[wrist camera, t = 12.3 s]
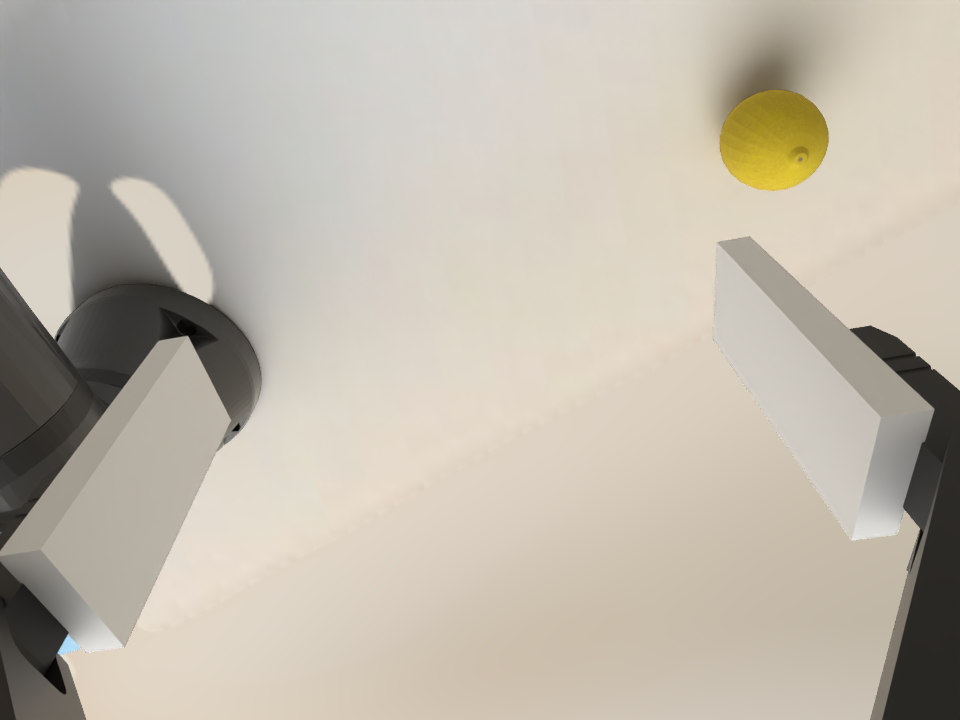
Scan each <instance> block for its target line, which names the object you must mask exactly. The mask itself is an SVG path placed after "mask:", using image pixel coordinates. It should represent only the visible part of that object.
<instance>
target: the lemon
mask: <svg viewBox="0 0 960 720" xmlns="http://www.w3.org/2000/svg"><path fill="white" fill-rule="evenodd" d="M828 143H829V141H828V128H827V125H826V122H825V119H824V117H823V115H822V114H821V112H820V111H819V110H818V108H817V107H816V106H815V105H814V104H813V103H812V102H811V101H809V100H808V99H806V98H805V97H804V96H802V95H800V94H797V93H794V92H791V91H787V90H767V91H763V92H760V93H756V94H754V95H752V96H750V97H748V98H746V99H744V100H743V101H742V102H741V103H740V104H738V105H737V106H736V107H735V108H734V109H733V110H732V112H731V113H730V114H729V115H728V117H727V119H726V121H725V123H724V125H723V127H722V131H721V135H720V152H721V156H722V160H723V162H724V164H725V165H726V167H727V169H728V170H729V172H730V173H731V174H732V175H733V176H734V177H736V178H737V179H738V180H739V181H740V182H742V183H744V184H746V185H748V186H751V187H753V188H756V189H760V190H769V191H775V190H783V189H788V188H790V187H793V186H796V185H798V184H799V183H801V182H803V181H804V180H806V179H807V178H808V177H809V176H811V175H812V174H813V173H814V172H815V171H816V169H817V168H818V167H819V165H820V164H821V162H822V160H823V158H824V156H825V154H826V151H827V147H828Z"/></svg>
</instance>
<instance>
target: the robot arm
mask: <svg viewBox="0 0 960 720" xmlns="http://www.w3.org/2000/svg"><path fill="white" fill-rule="evenodd" d="M713 340H714V342H715V343H716V344H717V346H718V348H719V349H720V350H721V352H722V353H723V355H724V356H725V358H726V359H727V361H728V362H729V364H730V365H731V367H732V368H733V369H734V371H735V372H736V374H737V375H738V377H739V378H740V380H741V381H742V383H743V384H744V386H745V387H746V388H747V390H748V391H749V393H750V394H751V395H752V397H753V398H754V400H755V402H756V403H757V404H758V406H759V407H760V409H761V410H762V411H763V413H764V414H765V416H766V417H767V419H768V420H769V422H770V423H771V425H772V426H773V428H774V429H775V430H776V432H777V433H778V435H779V436H780V438H781V439H782V440H783V442H784V444H785V445H786V446H787V448H788V449H789V451H790V452H791V454H792V455H793V457H794V458H795V460H796V461H797V463H798V464H799V465H800V467H801V468H802V470H803V471H804V473H805V474H806V476H807V477H808V478H809V480H810V481H811V483H812V484H813V486H814V487H815V489H816V490H817V492H818V493H819V495H820V496H821V497H822V499H823V500H824V502H825V503H826V505H827V506H828V508H829V509H830V511H831V512H832V513H833V515H834V516H835V518H836V519H837V521H838V522H839V524H840V525H841V526H842V528H843V529H844V531H845V532H846V534H847V535H848V537H849V538H850V540H851V541H855V540H862V539H868V538H875V537H882V536H889V535H896V534H897V533H898V530H899V526H900V523H901V520H902V517H903V513H904V510H905V511H906V512H907V513H908V514H909V515H910V517H911V518H912V519H913V520H914V521H915V523H916V524H917V525H918V526H919V528H920V531H919V534H918V537H917V540H916V543H915V546H914V549H913V552H912V555H911V558H910V561H909V564H908V567H907V571H908V575H907V579H906V583H905V586H904V590H903V594H902V598H901V602H900V606H899V610H898V614H897V618H896V621H895V625H894V629H893V633H892V638H891V641H890V645H889V649H888V653H887V657H886V661H885V664H884V668H883V672H882V677H881V680H880V684H879V688H878V692H877V696H876V700H875V703H874V707H873V711H872V715H871V719H870V720H960V391H959V390H958V389H957V388H956V387H955V386H953V385H952V384H951V383H950V382H949V381H948V380H946V379H945V378H944V377H943V376H942V375H941V374H939V373H938V372H937V371H936V370H935V369H933V370H932V369H931V366H930V365H929V364H928V363H927V362H925V361H924V360H923V359H922V358H921V357H919V356H917V357H916V355H915V352H914V351H912V350H911V349H910V348H909V347H908V346H907V345H905V344H904V343H903V342H902V341H901V340H900V339H898V338H897V337H895V336H893V335H890V334H888V333H886V332H883V331H881V330H879V329H877V328H875V327H872V326H865V327H859V328H853V329H848V328H847V327H846V326H845V325H844V324H843V323H842V322H841V321H840V320H839V319H837V318H836V317H835V316H834V315H833V314H832V313H831V312H830V311H829V310H828V309H827V308H826V307H825V306H823V304H821V303H820V302H819V301H818V300H817V299H816V298H815V297H814V296H813V295H812V294H811V293H810V292H809V291H808V290H807V289H805V288H804V287H803V286H802V285H801V284H800V283H799V282H798V281H797V280H796V279H795V278H794V277H793V276H792V275H790V274H789V273H788V272H787V271H786V270H785V269H784V268H783V267H782V266H781V265H780V264H779V263H778V262H777V261H775V260H774V259H773V258H772V257H771V256H770V255H769V254H768V253H767V252H766V251H765V250H764V249H763V248H762V247H760V246H759V245H758V244H757V243H756V242H755V241H754V240H753V239H752V238H751V237H750V236H749V237H743V238H738V239H732V240H726V241H721V242H717V253H716V277H715V301H714V325H713ZM260 390H261V373H260V368H259V364H258V361H257V358H256V355H255V353H254V351H253V349H252V347H251V345H250V344H249V342H248V341H247V339H246V338H245V336H244V335H243V334H242V333H241V331H240V330H239V329H238V328H237V327H236V326H235V325H234V324H233V323H232V322H231V321H230V320H229V319H228V318H227V317H225V316H224V315H223V314H222V313H220V312H219V311H218V310H216V309H215V308H213V307H212V306H210V305H209V304H207V303H205V302H203V301H202V300H200V299H198V298H196V297H194V296H191V295H189V294H186V293H184V292H181V291H178V290H175V289H171V288H167V287H163V286H157V285H149V284H128V285H121V286H115V287H111V288H108V289H105V290H103V291H100V292H98V293H96V294H94V295H93V296H91V297H90V298H88V299H87V300H86V301H84V302H83V303H82V304H81V305H80V306H79V307H78V308H77V309H76V310H75V311H73V312H72V313H71V314H70V315H69V316H68V317H67V318H66V320H65V321H64V322H63V324H62V325H61V326H60V328H59V330H58V331H57V334H56V336H55V339H53V337H52V336H51V335H50V334H49V332H48V331H47V330H46V328H45V327H44V326H43V325H42V323H41V322H40V321H39V319H38V318H37V317H36V315H35V314H34V313H33V312H32V310H31V309H30V308H29V306H28V305H27V303H26V302H25V301H24V299H23V298H22V297H21V295H20V294H19V292H18V291H17V290H16V288H15V287H14V286H13V284H12V283H11V282H10V280H9V279H8V278H7V276H6V275H5V273H4V272H3V271H2V270H1V268H0V720H86V718H85V715H84V711H83V708H82V705H81V702H80V699H79V697H78V694H77V690H76V688H75V684H74V681H73V678H72V675H71V672H70V670H69V667H68V664H67V663H66V662H65V661H64V659H63V658H62V657H61V656H60V655H62V654H66V653H69V652H73V651H75V650H78V649H80V648H81V649H82V650H83V651H84V652H85V653H89V652H95V651H102V650H109V649H116V648H123V647H125V645H126V643H127V641H128V639H129V637H130V635H131V633H132V631H133V629H134V626H135V624H136V622H137V620H138V618H139V616H140V614H141V612H142V609H143V607H144V605H145V603H146V601H147V599H148V597H149V594H150V592H151V590H152V588H153V586H154V584H155V582H156V580H157V577H158V575H159V573H160V571H161V569H162V567H163V565H164V562H165V560H166V558H167V556H168V554H169V552H170V550H171V548H172V545H173V543H174V541H175V539H176V537H177V535H178V533H179V530H180V528H181V526H182V524H183V522H184V520H185V518H186V516H187V513H188V511H189V509H190V507H191V505H192V503H193V501H194V498H195V496H196V494H197V492H198V490H199V488H200V486H201V484H202V481H203V479H204V477H205V475H206V473H207V471H208V469H209V466H210V464H211V462H212V460H213V458H214V456H215V454H216V452H217V451H218V450H219V449H220V448H222V447H223V445H225V444H226V443H228V442H229V441H230V440H231V439H233V438H234V437H235V436H236V435H237V434H238V433H239V432H240V431H241V430H242V429H243V427H244V426H245V424H246V423H247V421H248V420H249V418H250V416H251V414H252V412H253V410H254V407H255V405H256V403H257V401H258V398H259V395H260Z"/></svg>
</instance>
